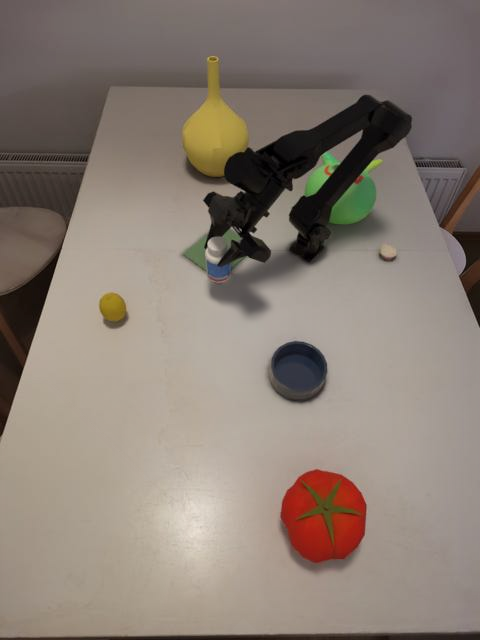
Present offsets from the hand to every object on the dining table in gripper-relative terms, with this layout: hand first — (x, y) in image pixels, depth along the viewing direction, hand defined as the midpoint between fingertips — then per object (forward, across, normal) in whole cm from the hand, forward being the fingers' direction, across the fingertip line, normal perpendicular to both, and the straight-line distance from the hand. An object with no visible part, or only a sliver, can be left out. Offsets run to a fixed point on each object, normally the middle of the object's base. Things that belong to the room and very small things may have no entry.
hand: (212, 257), depth 91 cm
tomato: (+15, +52, +3) cm, 54 cm away
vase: (-7, -40, +25) cm, 48 cm away
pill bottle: (+4, 0, +6) cm, 7 cm away
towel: (+4, -10, +14) cm, 18 cm away
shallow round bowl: (+6, +27, +12) cm, 30 cm away
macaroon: (-21, +11, +40) cm, 46 cm away
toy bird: (-20, -7, +38) cm, 44 cm away
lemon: (+24, -5, -7) cm, 26 cm away
